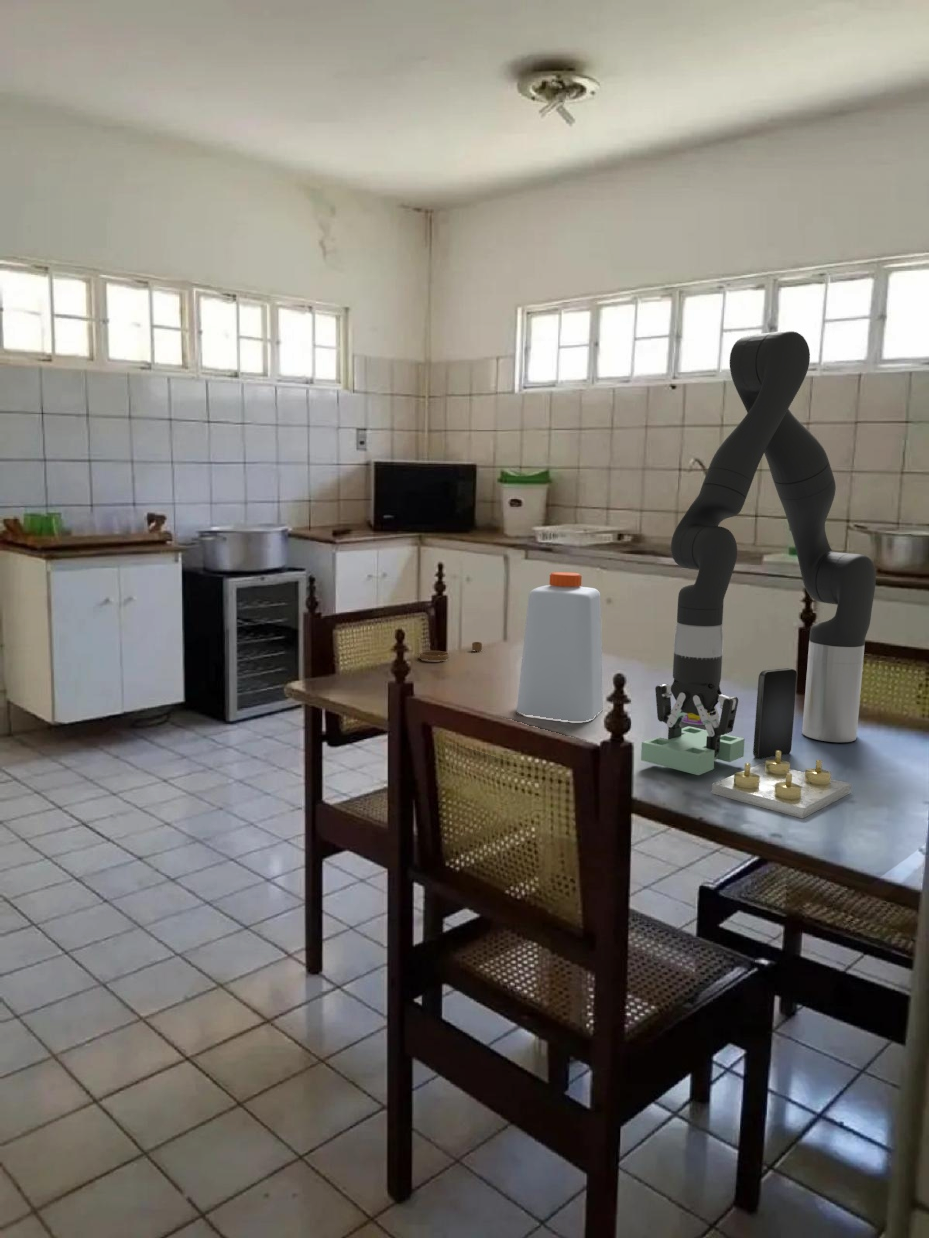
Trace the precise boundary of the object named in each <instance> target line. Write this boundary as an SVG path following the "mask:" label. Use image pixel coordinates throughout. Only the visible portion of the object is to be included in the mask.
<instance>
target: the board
mask: <svg viewBox="0 0 929 1238" xmlns="http://www.w3.org/2000/svg"><path fill="white" fill-rule="evenodd" d="M707 736H709V735H708V733H707V730H706V729H702V728H698V727H696V726H695V727H694V726H689V725H688V726H685V727H682V732H681V736H678V737H675V738H672V739H668V738H665V737H660V736H656V737H653V738H650V739H647V740H645V741H641V754H640V755H641V756H640V761H643V762H647V763H650V764H654V765H658V766H662V767H665V768H669V769H672V770H673V769H674V770H676V771H681V772H684V773H689V774H692V775H696V776H700V775H703V774H705V773H707V772H710V771H712V770H714V769H715V761H716V760H718V761H723V762H727V763H731V762H733V761H736V760H739V759H741V758H743V757H745V756H744V755H745V738H743V737H740V736H739V737H738V736H734V735H730V734H724V735H721V737H720V752H719V754H718V755H716V757H715V758H714V753H715V750H711V749H707V748H706V747H707V746H706V741H707Z"/></svg>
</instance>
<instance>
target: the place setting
mask: <svg viewBox="0 0 929 1238" xmlns="http://www.w3.org/2000/svg"><path fill="white" fill-rule="evenodd" d="M471 643H472V645H471V647H472V648H471V650H475V651H477V652H476V653H479V652H478V651H481V650H483V643H482V642H480V641H473V642H471ZM481 652H482V651H481ZM438 655H440V656H438ZM448 658H450V654H449V652H446V651H441V650H424V651H421V652H420V653H419V660H420V659H428V660H446V659H448Z"/></svg>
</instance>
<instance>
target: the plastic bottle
mask: <svg viewBox="0 0 929 1238" xmlns="http://www.w3.org/2000/svg"><path fill="white" fill-rule="evenodd" d="M601 600H602V599H601V593H600V591H599V590H598V589H597V588H594V587H587V586H582V575H581V574H580V573H577V572H566V571H565V572H564V571H562V572H561V571H559V572H558V571H557V572H556V571H555V572H551V573H550V575H549V584H548V585H542V586H538V587H535V588H533V589H532V590H530V592H529V593H528V599H527V606H526V607H527V608H526V615H525V616H526V619H525V625H524V626H525V627H524V636H523V645H522V646H523V647H522V653H521V654H522V655H521V657H522V658H521V666H520V675H519V684H518V692H517V693H518V694H517V703H516V712H517V711H518V712H521V713H523V714H525V715H533V716H540V717H546V718H553V719H561V720H568V721H586V720H589V719H593V718H594V716H595V715H597V714H598V712H600V711H601V710H602V709H603V710H604V694H603V689H604V688H603V687H604V686H603V655H602V654H603V651H602V650H603V647H602V608H601V606H602V605H601V604H602V603H601Z"/></svg>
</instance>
